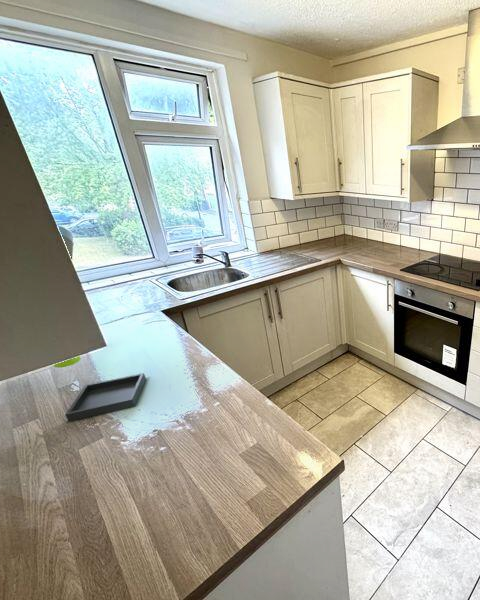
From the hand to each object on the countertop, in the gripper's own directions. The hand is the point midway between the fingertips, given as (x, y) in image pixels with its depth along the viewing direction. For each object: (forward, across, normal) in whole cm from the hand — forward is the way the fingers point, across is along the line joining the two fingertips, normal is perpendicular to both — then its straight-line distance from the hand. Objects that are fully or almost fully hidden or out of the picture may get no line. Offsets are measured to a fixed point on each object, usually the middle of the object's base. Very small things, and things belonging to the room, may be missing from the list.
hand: (50, 344), depth 92 cm
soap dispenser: (+3, 0, +9) cm, 9 cm away
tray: (+18, +11, +6) cm, 22 cm away
